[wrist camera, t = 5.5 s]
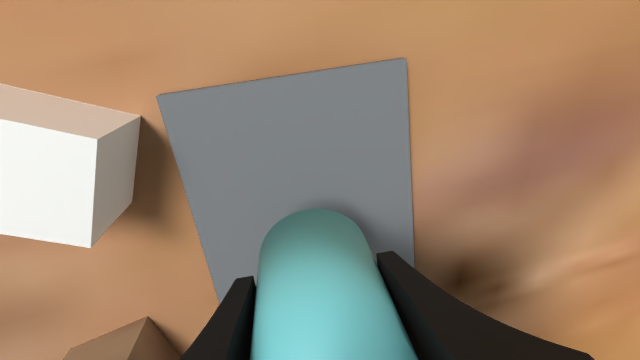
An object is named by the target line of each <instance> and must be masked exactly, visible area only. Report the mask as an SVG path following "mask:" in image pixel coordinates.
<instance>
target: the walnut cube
mask: <svg viewBox="0 0 640 360" xmlns="http://www.w3.org/2000/svg"><path fill="white" fill-rule="evenodd" d="M180 358H181V356H180V355H179V354H178V353H177V352H176V350H175V349H174V348H173V347H172V345H171V344H170V343H169V342H168V340H167V339H166V338H165V337H164V336H163V334H162V333H161V332H160V331H159V329H158V328H157V327H156V326H155V325H154V323H153V322H152V321H151V320H150V318H149V317H148V316H147V317H145V318H142V319H140V320H138V321H135V322H133V323H131V324H128V325H126V326H123V327H121V328H119V329H116V330H114V331H112V332H109V333H107V334H105V335H102V336H100V337H97V338H95V339H93V340H90V341H88V342H86V343H83V344H81V345H79V346H76V347H74V348H71V349H70V350H69V352H68V353H67V355H66V356H65V358H64V359H63V360H179V359H180Z"/></svg>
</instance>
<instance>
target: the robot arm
mask: <svg viewBox="0 0 640 360" xmlns="http://www.w3.org/2000/svg"><path fill="white" fill-rule="evenodd" d="M376 258H377V266H378V268H379V271H380V273H381V275H382V278H383V280H384V282H385V284H386V287H387V289H388V291H389V294H390V296H391V298H392V300H393V303H394V305H395V307H396V309H397V312H398V314H399V316H400V319H401V321H402V323H403V325H404V328H405V330H406V332H407V335H408V337H409V339H410V341H411V344H412V346H413V348H414V351H415V353H416V355H417V357H418V360H594V359H593V358H592V357H591V356H590V355H589V354H587V353H584V352H581V351H577V350H574V349H571V348H568V347H565V346H561V345H558V344H555V343H552V342H549V341H546V340H543V339H540V338H538V337H535V336H532V335H530V334H527V333H524V332H522V331H520V330H517V329H515V328H512V327H510V326H508V325H506V324H503V323H501V322H499V321H497V320H495V319H493V318H490V317H488V316H486V315H484V314H482V313H480V312H479V311H477V310H475V309H473V308H471V307H470V306H468V305H466V304H464V303H462V302H461V301H459V300H457V299H456V298H454V297H453V296H451V295H450V294H448V293H447V292H445V291H444V290H442V289H441V288H439V287H438V286H436V285H435V284H434V283H432V282H431V281H430V280H428V279H427V278H426V277H424V276H423V275H422V274H421V273H419V272H418V271H417V270H416V269H414V268H413V267H412V266H411V265H409V264H408V263H407V262H406V261H405V260H404V259H402V258H401V257H400V256H399V255H398V254H397V253H395V252H394V251H387V252H382V253H376ZM255 296H256V284H255V281H254V277H253V276H247V277H242V278H236V279H235V281H234V282H233V284H232V285H231V287H230V289H229V290H228V292H227V294H226V295H225V297H224V299H223V300H222V302H221V303H220V305H219V307H218V308H217V310H216V311H215V313H214V314H213V316H212V317H211V319H210V320H209V322H208V323H207V325H206V326H205V327H204V329H203V330H202V331H201V333H200V334H199V335H198V337H197V338H196V340H195V341H194V342H193V344H192V345H191V346H190V347H189V349H188V350H187V351H186V352H185V354H184V355H183V356H182V357H181V358H180V359H179V360H250V350H251V339H252V329H253V318H254V307H255Z"/></svg>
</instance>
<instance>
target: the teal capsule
mask: <svg viewBox="0 0 640 360" xmlns="http://www.w3.org/2000/svg"><path fill="white" fill-rule="evenodd" d="M250 360H418V357H417V355H416V353H415V351H414V348H413V346H412V344H411V341H410V339H409V337H408V335H407V332H406V330H405V328H404V325H403V323H402V321H401V319H400V316H399V314H398V312H397V309H396V307H395V305H394V303H393V300H392V298H391V296H390V294H389V291H388V289H387V287H386V284H385V282H384V280H383V278H382V275H381V273H380V271H379V268H378V266H377V264H376V262H375V259H374V257H373V255H372V252H371V250H370V248H369V246H368V243H367V241H366V239H365V236H364V235H363V233H362V231H361V230H360V228H359V227H358V226H357V225H356V224H355V223H354V222H353V221H352V220H351V219H349V218H348V217H346V216H345V215H343V214H341V213H338V212H335V211H332V210H327V209H307V210H302V211H298V212H295V213H293V214H290V215H288V216H286V217H284V218H283V219H282V220H280V221H279V222H277V223H276V224H275V225H274V226H273V227H272V228H271V229H270V230H269V232H268V233H267V235H266V236H265V238H264V240H263V242H262V245H261V248H260V253H259V263H258V274H257V285H256V296H255V307H254V318H253V329H252V339H251V350H250Z"/></svg>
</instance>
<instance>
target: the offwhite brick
mask: <svg viewBox="0 0 640 360" xmlns="http://www.w3.org/2000/svg"><path fill="white" fill-rule="evenodd" d="M140 120H141V116H140V115H136V114H132V113H127V112H123V111H118V110H114V109H110V108H105V107H101V106H97V105H92V104H88V103H84V102H79V101H75V100H71V99H66V98H62V97H58V96H53V95H49V94H45V93H40V92H36V91H32V90H27V89H23V88H19V87H14V86H10V85H6V84H1V83H0V234H5V235H11V236H17V237H24V238H30V239H37V240H43V241H49V242H56V243H62V244H69V245H75V246H82V247H88V248H91V247H92V246H93V245H94V244H95V242H96V241H97V240H98V239H99V238H100V237H101V236H102V235H103V234H104V233H105V231H106V230H107V229H108V228H109V227H110V226H111V225H112V224H113V223H114V221H115V220H116V219H117V218H118V217H119V216H120V215H121V214H122V213H123V212H124V210H125V209H126V208H127V207H128V206H129V205H130V204H131V203H132V199H133V189H134V179H135V169H136V160H137V150H138V140H139V130H140Z"/></svg>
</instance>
